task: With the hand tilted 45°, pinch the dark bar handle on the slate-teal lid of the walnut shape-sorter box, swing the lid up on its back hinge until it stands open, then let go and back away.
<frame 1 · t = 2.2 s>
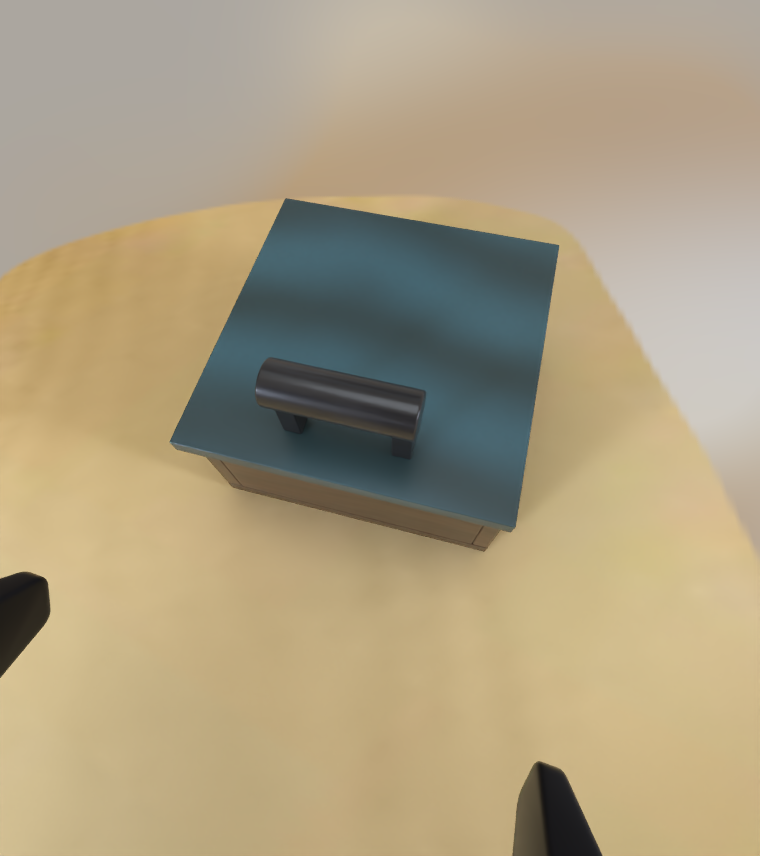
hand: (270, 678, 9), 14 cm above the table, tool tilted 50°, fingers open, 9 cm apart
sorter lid: (380, 311, 19), point 9 cm above the table, hinge at 0.0°
sorter box: (386, 409, 27), on the table
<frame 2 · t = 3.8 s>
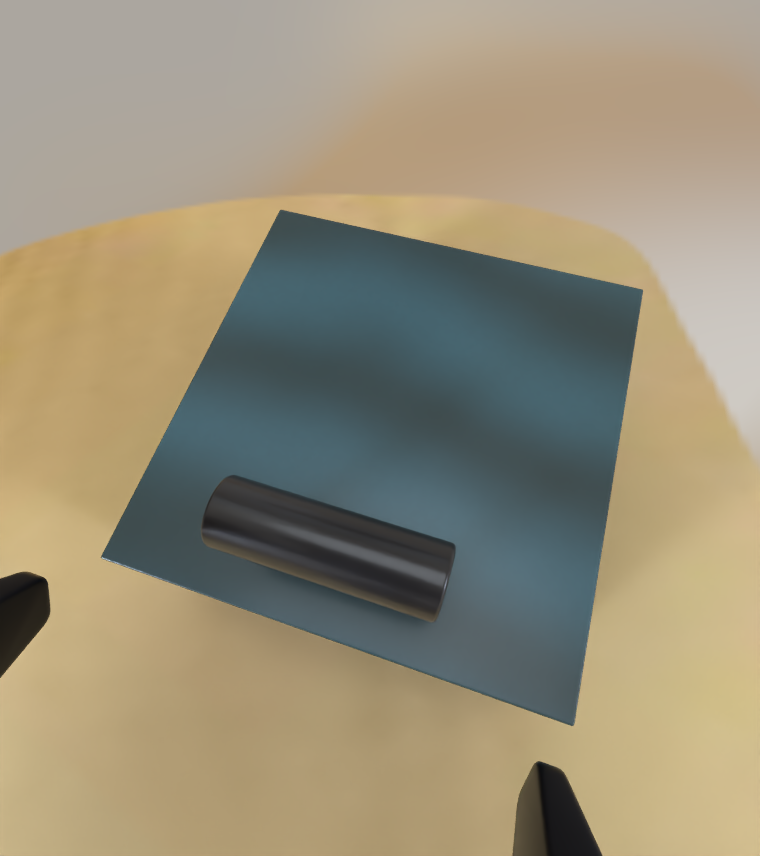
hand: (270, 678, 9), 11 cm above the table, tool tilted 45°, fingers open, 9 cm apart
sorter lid: (394, 388, 13), point 8 cm above the table, hinge at 0.0°
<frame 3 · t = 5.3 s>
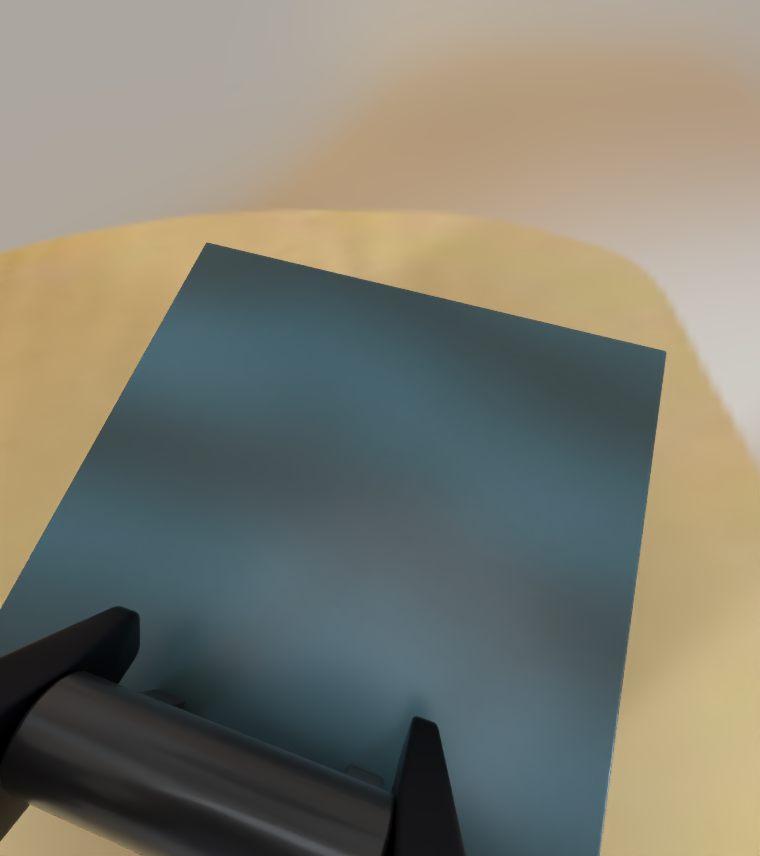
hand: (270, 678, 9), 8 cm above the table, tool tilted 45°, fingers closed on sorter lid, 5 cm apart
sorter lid: (330, 506, 10), point 8 cm above the table, hinge at 0.0°, touching gripper
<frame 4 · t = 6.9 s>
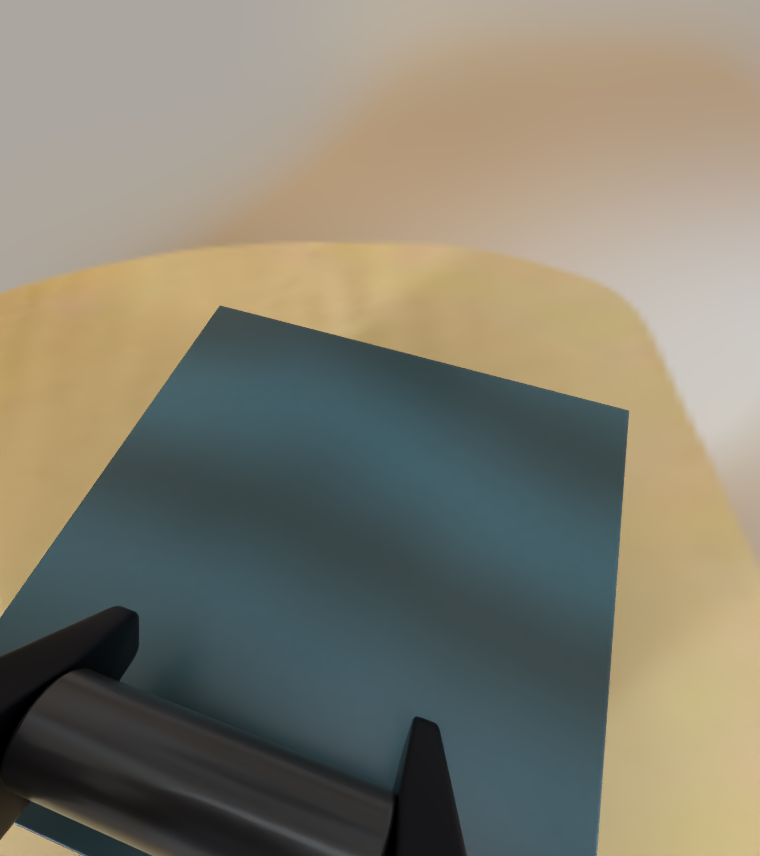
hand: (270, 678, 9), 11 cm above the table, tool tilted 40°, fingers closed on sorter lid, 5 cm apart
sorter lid: (330, 529, 10), point 10 cm above the table, hinge at 13.6°, touching gripper
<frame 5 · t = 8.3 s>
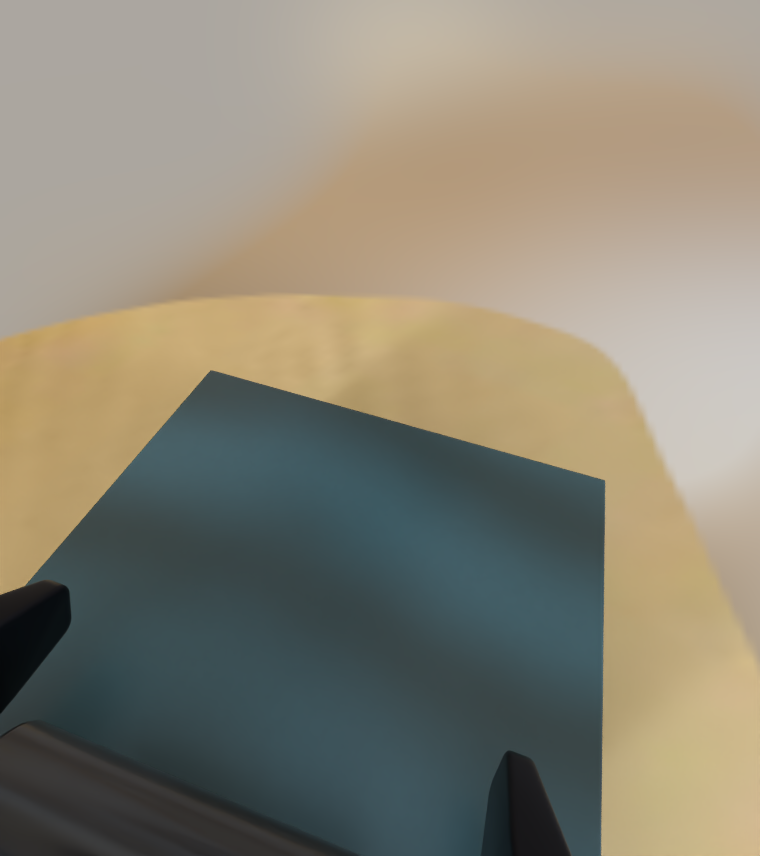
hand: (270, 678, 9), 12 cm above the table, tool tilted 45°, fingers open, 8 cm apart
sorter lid: (313, 584, 10), point 11 cm above the table, hinge at 21.6°
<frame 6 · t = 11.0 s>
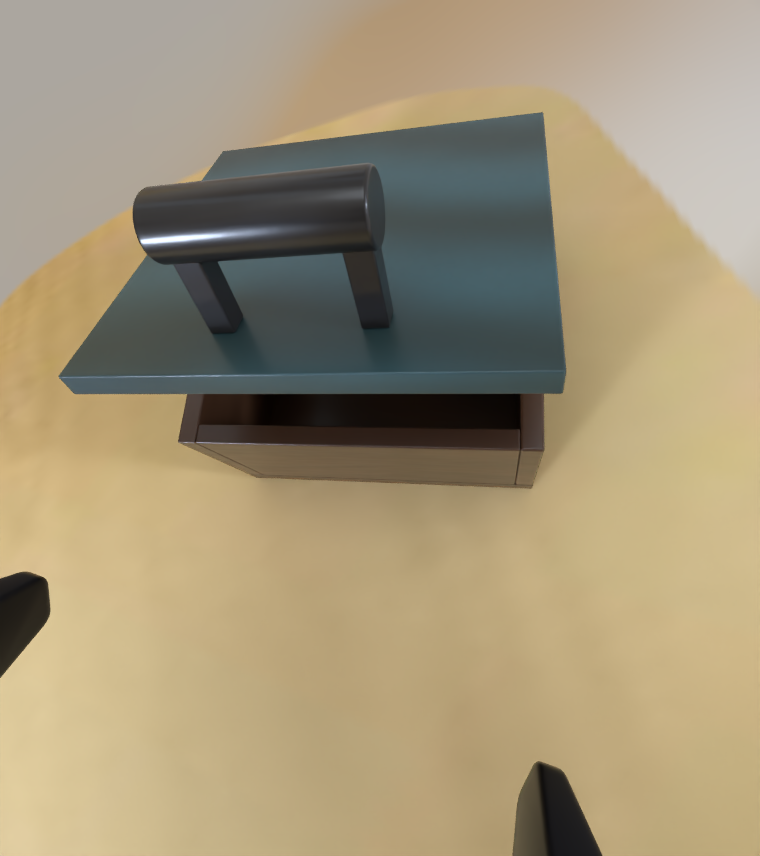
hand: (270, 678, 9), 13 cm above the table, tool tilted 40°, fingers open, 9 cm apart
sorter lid: (324, 176, 14), point 11 cm above the table, hinge at 21.6°
sorter box: (395, 358, 24), on the table
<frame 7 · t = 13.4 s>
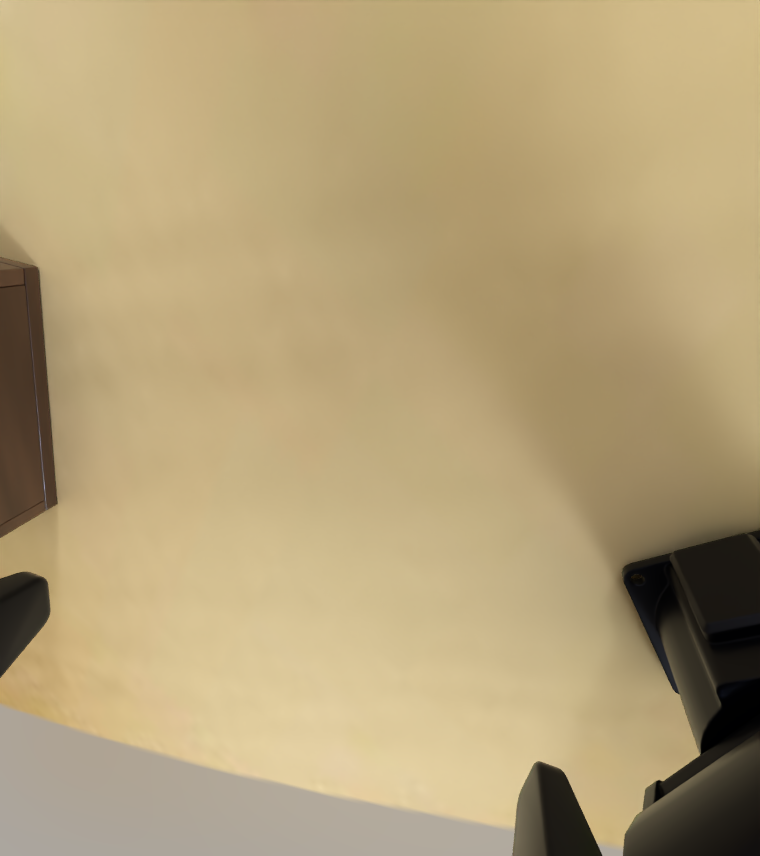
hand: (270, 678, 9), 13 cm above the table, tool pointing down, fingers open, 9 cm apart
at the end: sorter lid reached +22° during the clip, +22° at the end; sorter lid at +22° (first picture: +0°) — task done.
